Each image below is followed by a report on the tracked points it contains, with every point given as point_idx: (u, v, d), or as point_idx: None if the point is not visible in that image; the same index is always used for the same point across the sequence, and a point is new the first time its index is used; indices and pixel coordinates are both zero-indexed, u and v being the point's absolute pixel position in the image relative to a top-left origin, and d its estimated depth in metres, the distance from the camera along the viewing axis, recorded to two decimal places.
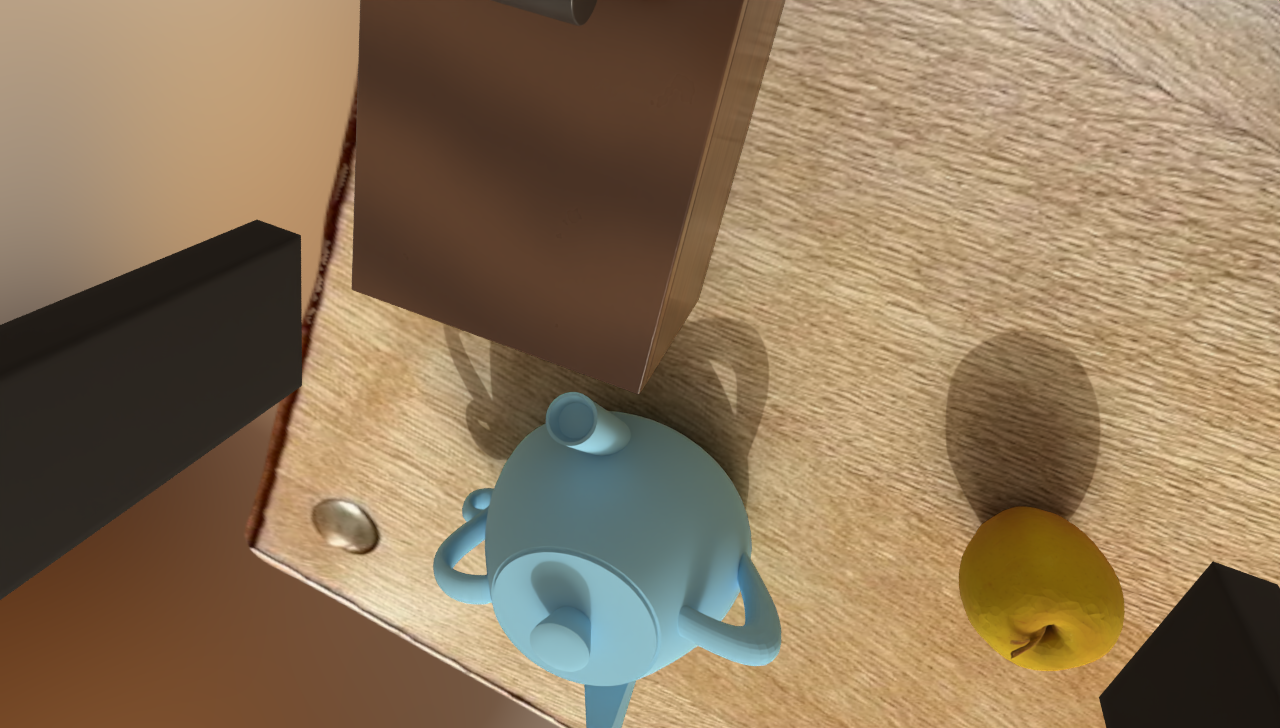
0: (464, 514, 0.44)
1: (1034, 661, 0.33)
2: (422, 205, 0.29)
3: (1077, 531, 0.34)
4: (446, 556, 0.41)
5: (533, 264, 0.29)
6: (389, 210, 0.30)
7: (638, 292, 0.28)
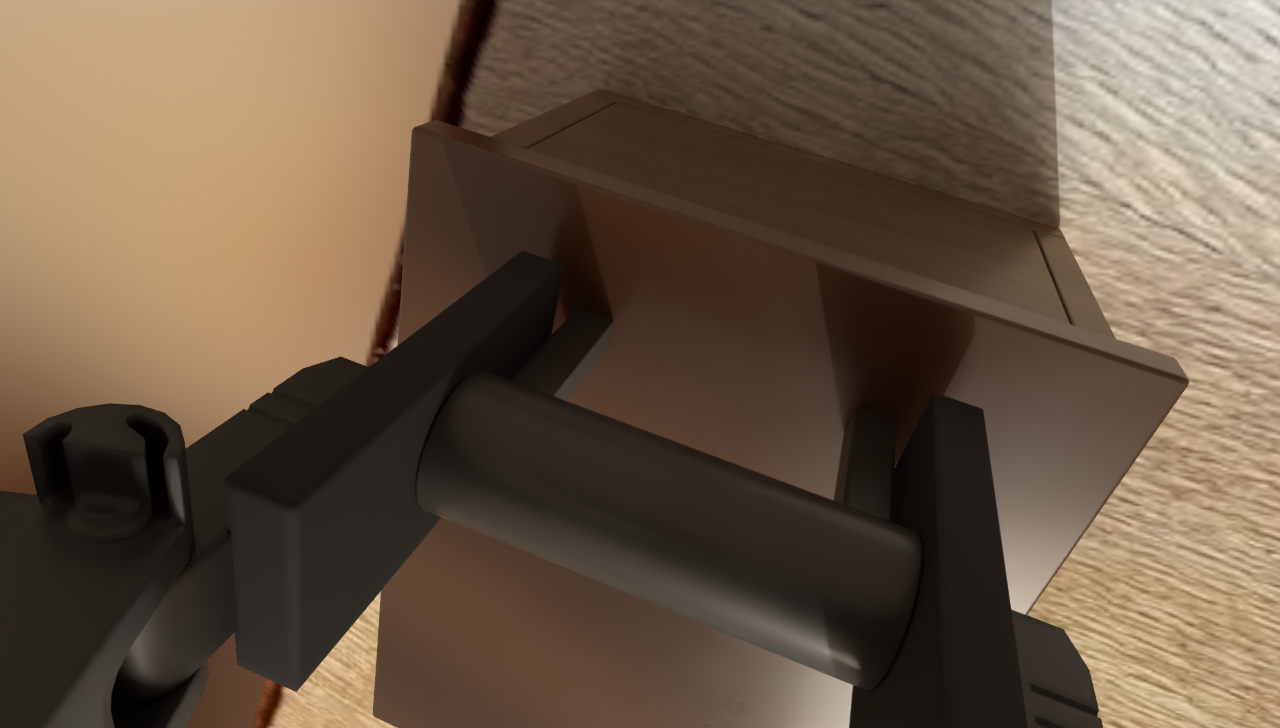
0: None
1: None
2: (486, 649, 0.19)
3: None
4: None
5: None
6: (433, 644, 0.19)
7: None
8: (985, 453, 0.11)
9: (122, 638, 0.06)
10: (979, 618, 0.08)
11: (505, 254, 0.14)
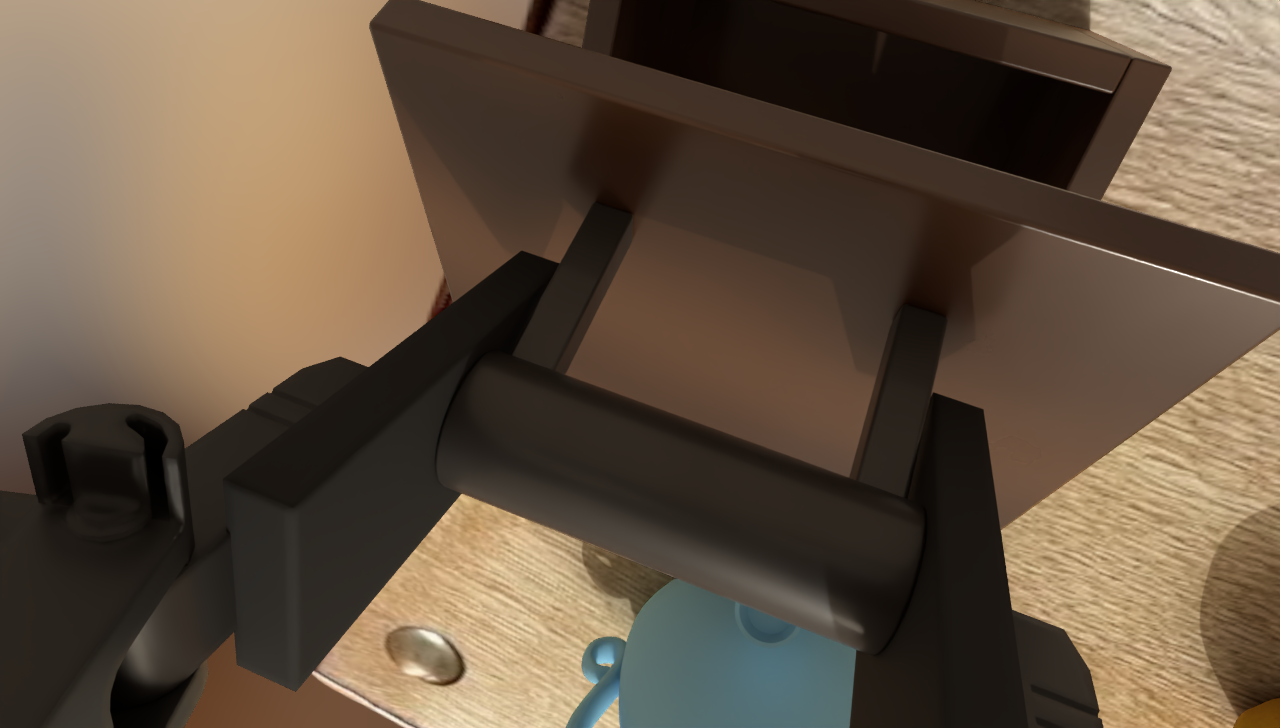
0: (586, 672, 0.38)
1: None
2: None
3: None
4: None
5: None
6: None
7: None
8: (985, 453, 0.11)
9: (122, 638, 0.06)
10: (979, 618, 0.08)
11: (506, 150, 0.12)
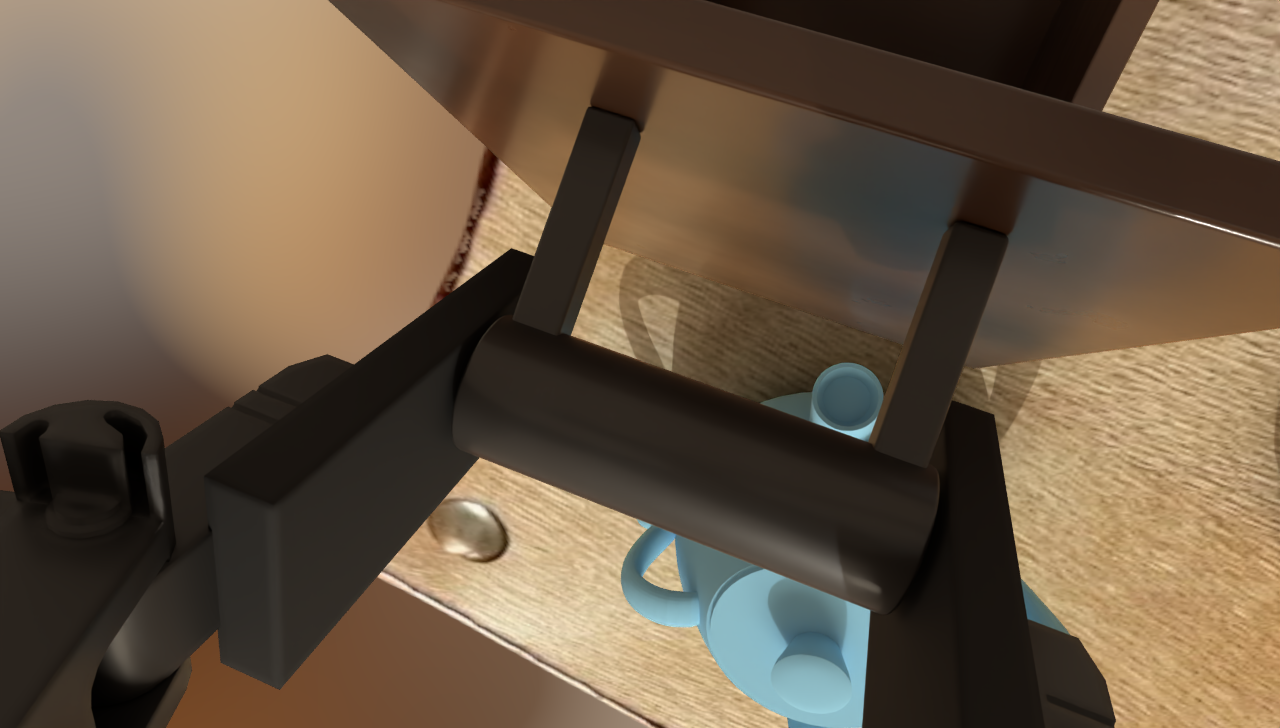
0: None
1: None
2: (647, 236, 0.20)
3: None
4: (638, 568, 0.34)
5: (820, 298, 0.20)
6: None
7: (981, 350, 0.19)
8: (997, 459, 0.11)
9: (102, 634, 0.06)
10: (995, 628, 0.08)
11: (476, 58, 0.10)
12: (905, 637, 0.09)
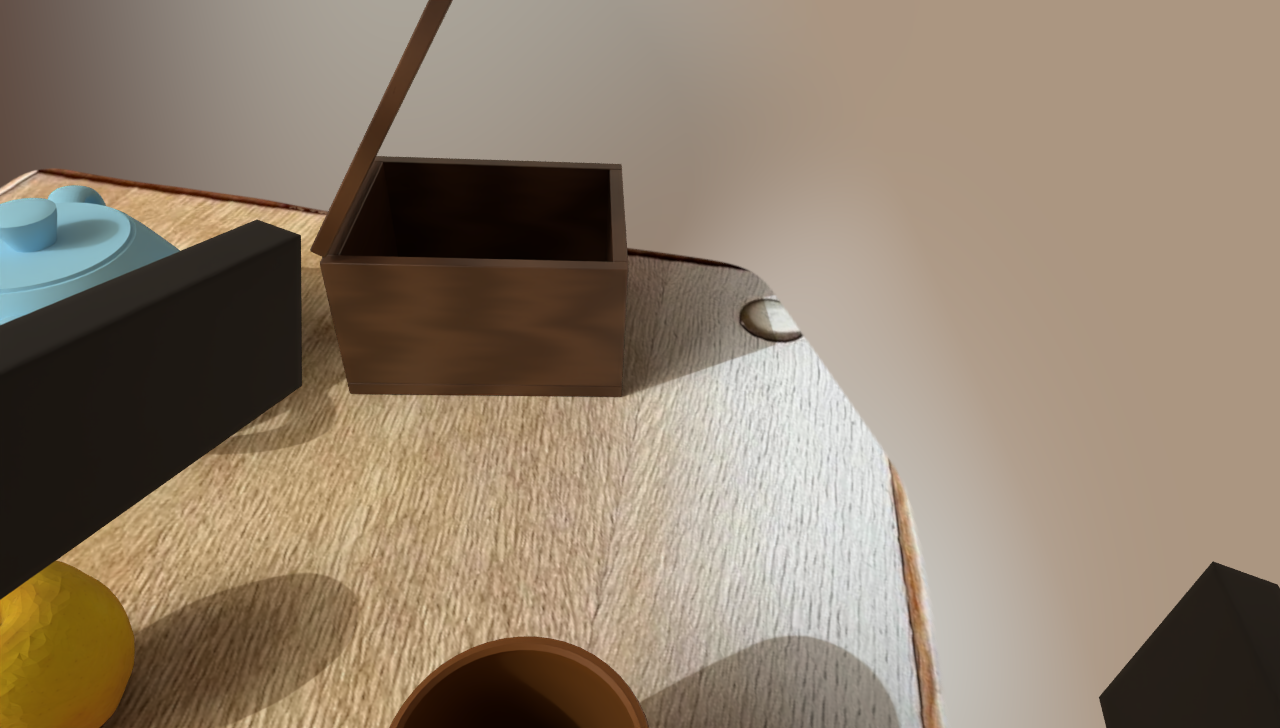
0: None
1: None
2: None
3: (116, 684, 0.28)
4: (96, 202, 0.46)
5: None
6: None
7: None
8: None
9: None
10: None
11: None
12: None
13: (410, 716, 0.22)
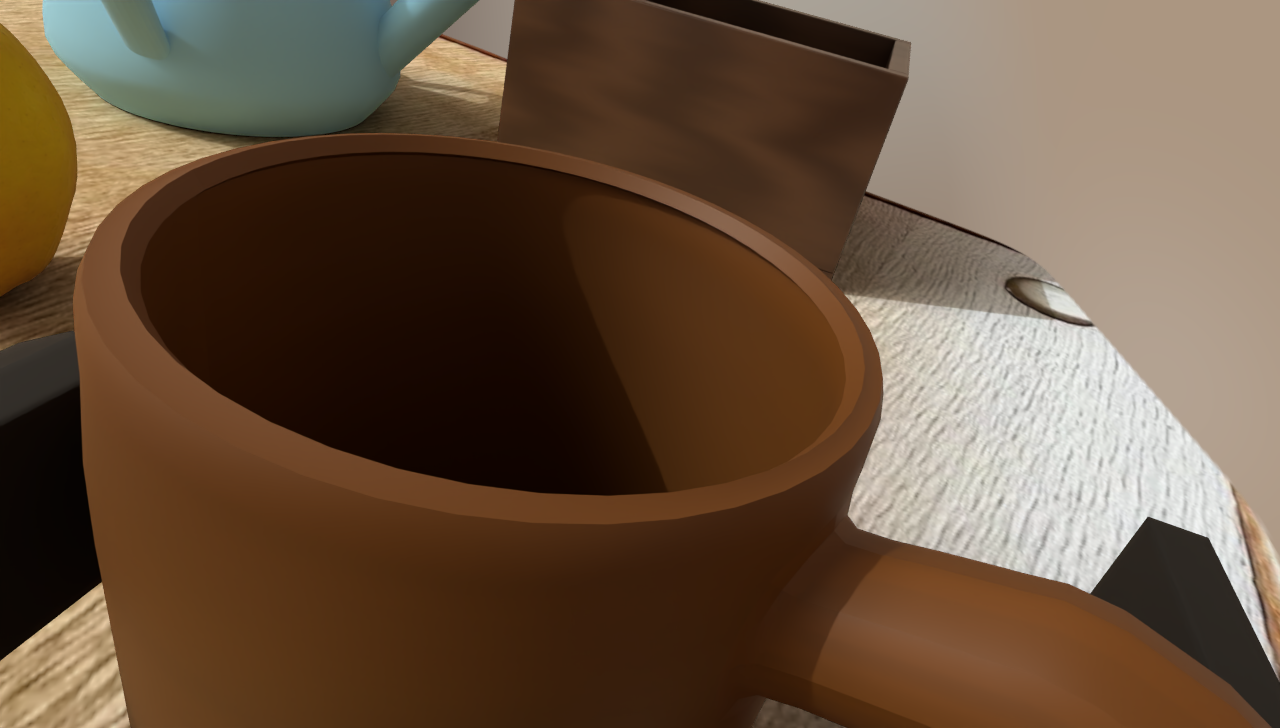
0: None
1: None
2: None
3: (1, 221, 0.18)
4: None
5: None
6: None
7: None
8: (1237, 605, 0.09)
9: None
10: None
11: None
12: None
13: (341, 167, 0.10)
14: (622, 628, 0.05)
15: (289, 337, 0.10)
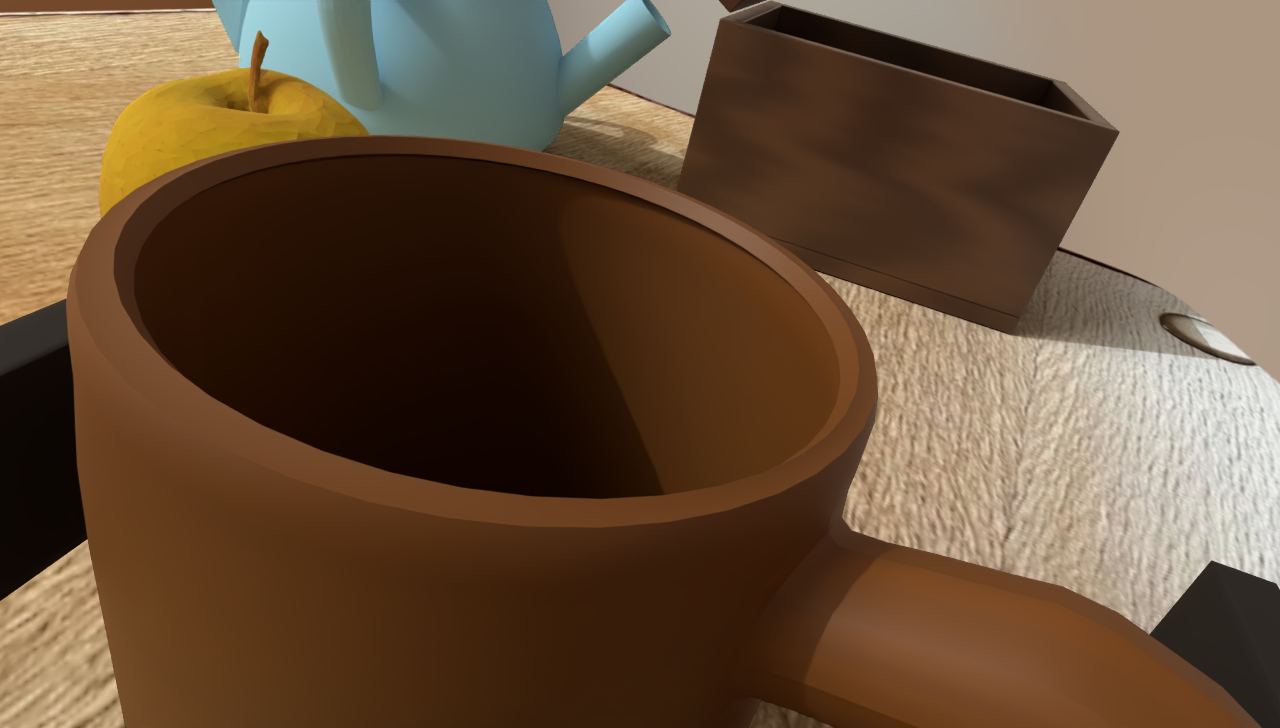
0: None
1: (192, 80, 0.18)
2: None
3: None
4: None
5: None
6: None
7: None
8: None
9: None
10: None
11: None
12: None
13: (337, 170, 0.10)
14: (615, 631, 0.05)
15: (286, 339, 0.10)
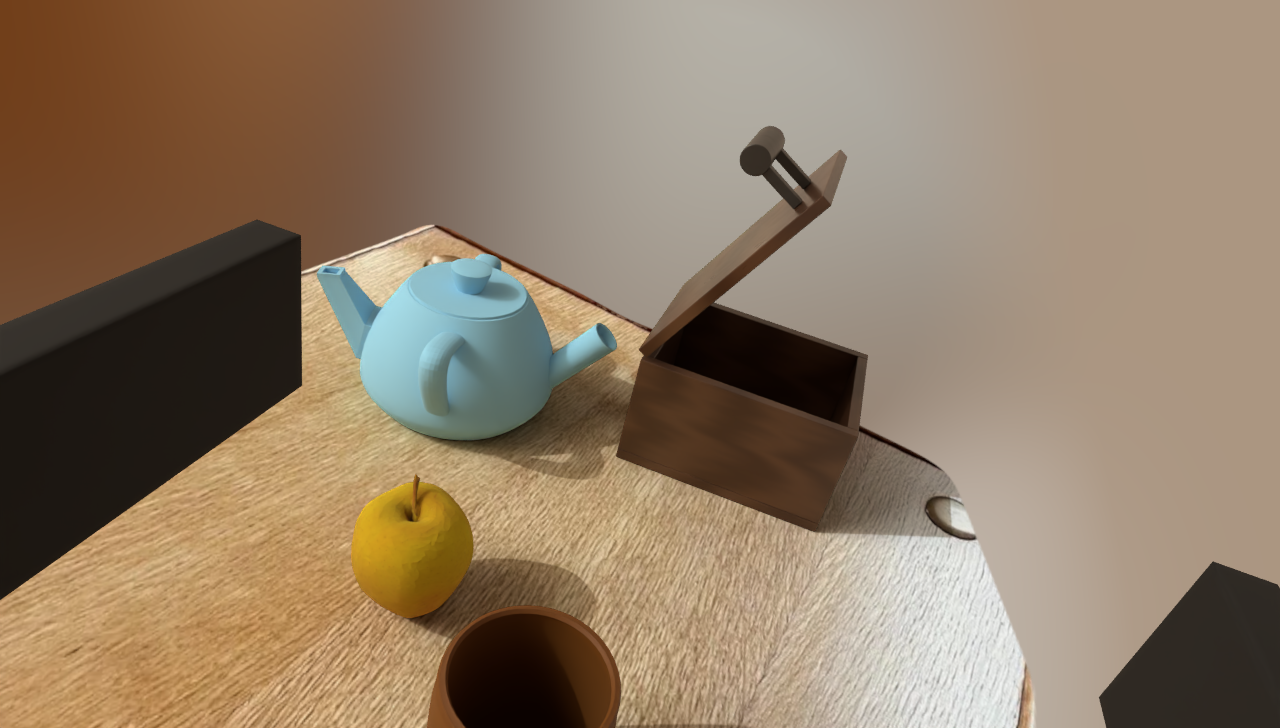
0: None
1: (389, 501, 0.41)
2: (715, 262, 0.60)
3: (455, 587, 0.42)
4: (497, 269, 0.65)
5: (693, 290, 0.57)
6: (713, 261, 0.62)
7: (682, 309, 0.53)
8: None
9: None
10: None
11: (819, 171, 0.56)
12: None
13: (478, 628, 0.33)
14: None
15: (460, 671, 0.34)
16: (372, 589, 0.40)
